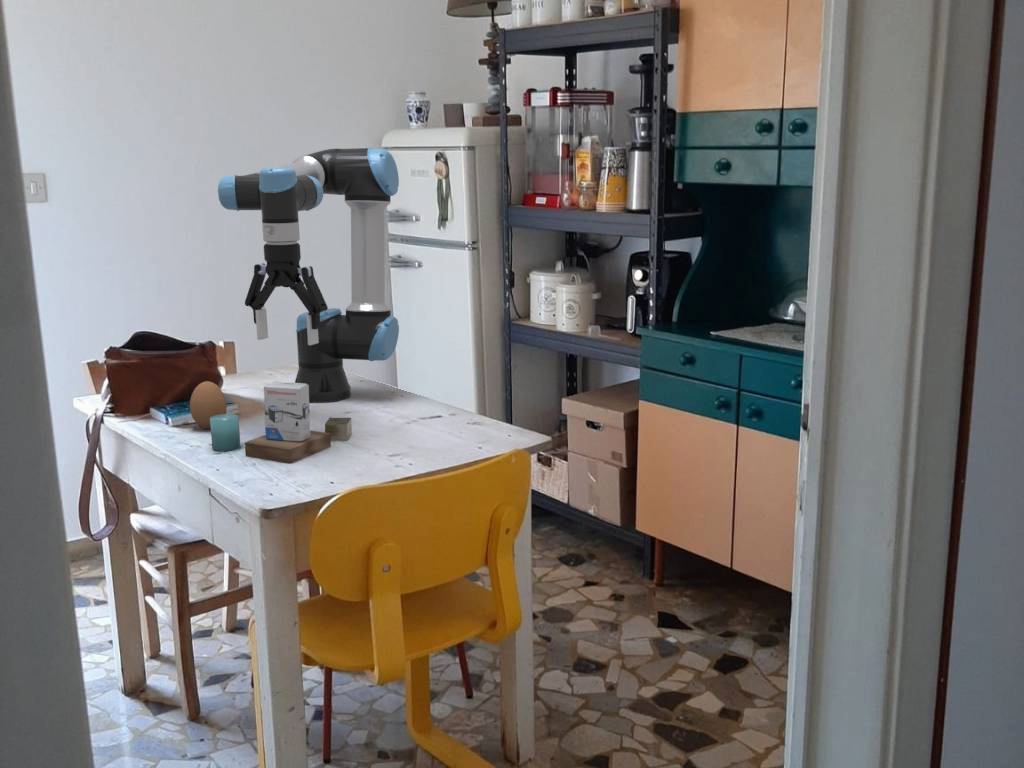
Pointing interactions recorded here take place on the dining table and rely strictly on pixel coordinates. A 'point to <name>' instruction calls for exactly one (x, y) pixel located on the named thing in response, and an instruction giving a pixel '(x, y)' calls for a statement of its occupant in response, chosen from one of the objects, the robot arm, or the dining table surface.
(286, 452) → the stand
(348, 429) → the brass tin
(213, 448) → the teal pillar candle
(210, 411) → the egg
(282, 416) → the ink box
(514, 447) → the dining table surface
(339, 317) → the robot arm
